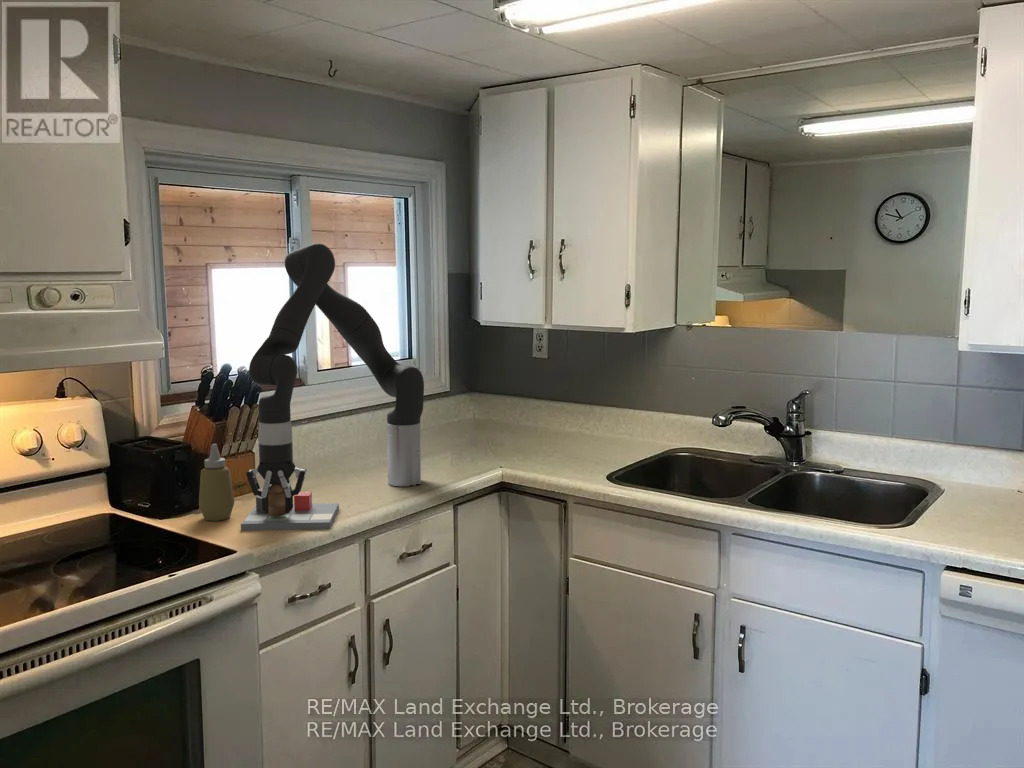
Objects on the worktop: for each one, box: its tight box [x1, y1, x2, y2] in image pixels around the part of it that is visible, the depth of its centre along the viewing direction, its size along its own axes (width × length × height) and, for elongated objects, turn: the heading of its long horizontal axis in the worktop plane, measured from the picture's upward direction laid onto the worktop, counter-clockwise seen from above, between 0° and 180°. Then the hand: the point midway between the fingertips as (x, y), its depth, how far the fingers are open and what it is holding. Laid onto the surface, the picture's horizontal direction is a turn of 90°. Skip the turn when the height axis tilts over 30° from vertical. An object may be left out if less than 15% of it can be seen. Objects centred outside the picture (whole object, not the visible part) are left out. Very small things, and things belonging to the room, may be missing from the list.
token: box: [268, 483, 287, 516], centre depth 189 cm, size 4×4×7 cm
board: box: [240, 495, 340, 531], centre depth 193 cm, size 20×16×5 cm
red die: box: [293, 491, 313, 510], centre depth 197 cm, size 4×4×4 cm
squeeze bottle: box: [198, 443, 235, 522], centre depth 193 cm, size 8×8×18 cm
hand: (277, 512), depth 190 cm, fingers closed on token, 4 cm apart
